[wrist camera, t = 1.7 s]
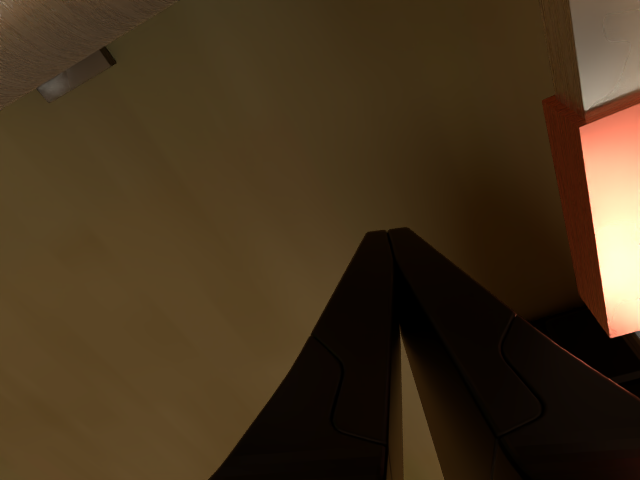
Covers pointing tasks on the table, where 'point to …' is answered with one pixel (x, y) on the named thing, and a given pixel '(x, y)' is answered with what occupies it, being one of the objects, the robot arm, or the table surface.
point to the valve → (62, 42)
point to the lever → (598, 149)
